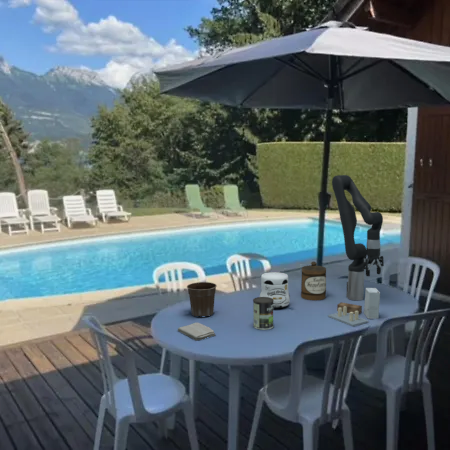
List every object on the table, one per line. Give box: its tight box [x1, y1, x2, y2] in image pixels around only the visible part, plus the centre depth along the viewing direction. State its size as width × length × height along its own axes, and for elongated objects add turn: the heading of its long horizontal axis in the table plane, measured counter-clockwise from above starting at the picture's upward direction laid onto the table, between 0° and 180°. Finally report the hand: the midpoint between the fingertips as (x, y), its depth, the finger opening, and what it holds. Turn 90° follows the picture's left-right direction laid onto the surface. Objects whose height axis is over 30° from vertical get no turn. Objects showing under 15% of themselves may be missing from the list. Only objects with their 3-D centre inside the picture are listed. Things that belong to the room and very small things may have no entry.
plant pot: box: [186, 281, 218, 317], centre depth 269 cm, size 16×16×16 cm
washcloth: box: [177, 322, 216, 342], centre depth 242 cm, size 12×18×3 cm, turn 38°
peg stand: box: [327, 306, 369, 327], centre depth 258 cm, size 18×11×6 cm, turn 31°
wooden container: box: [300, 261, 327, 301], centre depth 297 cm, size 15×15×22 cm
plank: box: [336, 302, 363, 315], centre depth 271 cm, size 12×5×4 cm, turn 55°
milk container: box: [259, 271, 291, 309], centre depth 282 cm, size 17×17×18 cm
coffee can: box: [252, 296, 274, 331], centre depth 249 cm, size 10×10×14 cm
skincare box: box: [363, 287, 381, 320], centre depth 261 cm, size 8×6×15 cm
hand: (373, 275), depth 281 cm, fingers open, 8 cm apart
